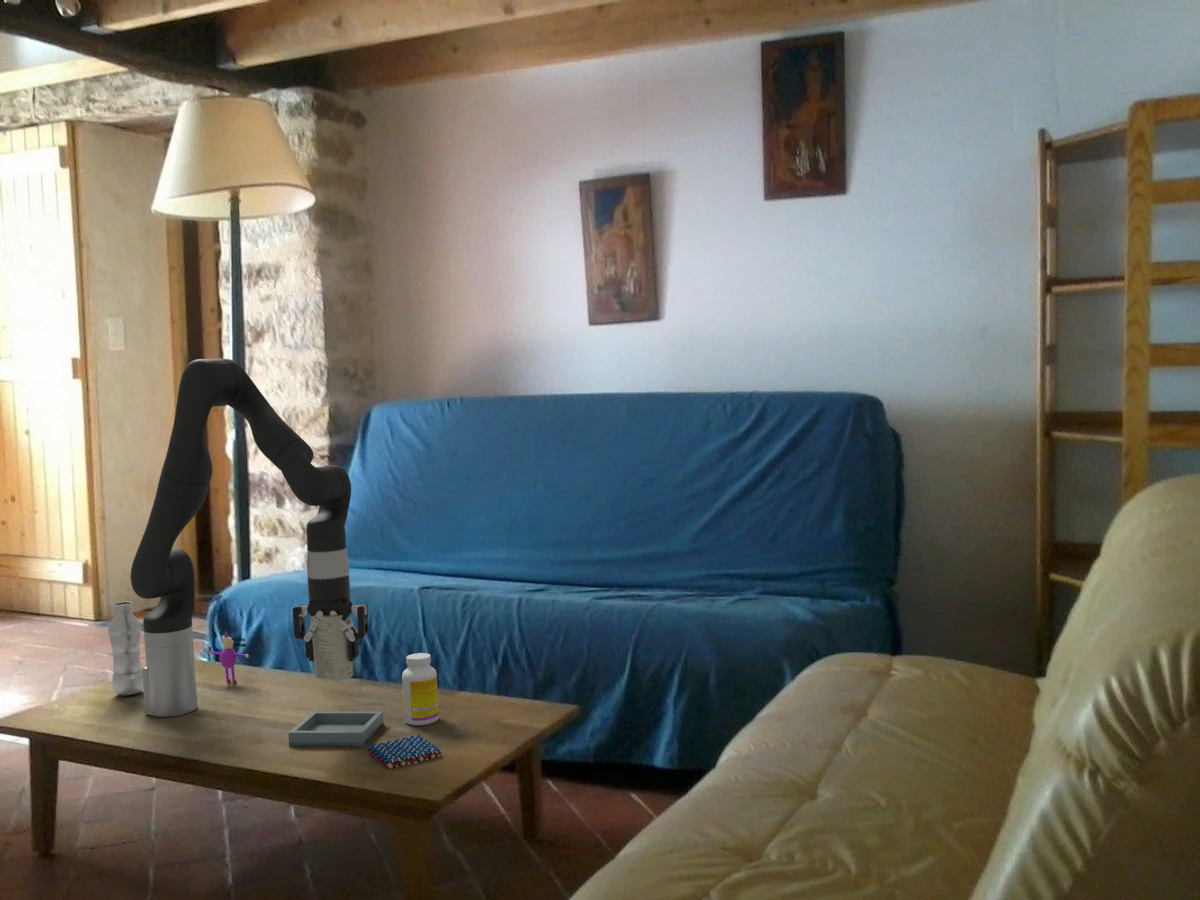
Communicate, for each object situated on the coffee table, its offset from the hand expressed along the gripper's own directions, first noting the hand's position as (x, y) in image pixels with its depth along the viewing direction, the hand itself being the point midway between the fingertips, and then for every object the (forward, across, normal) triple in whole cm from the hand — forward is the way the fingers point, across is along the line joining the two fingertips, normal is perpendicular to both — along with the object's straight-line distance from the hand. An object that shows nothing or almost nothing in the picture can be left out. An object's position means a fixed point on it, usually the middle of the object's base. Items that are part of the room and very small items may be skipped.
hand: (333, 660), depth 201 cm
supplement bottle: (+15, +14, +8) cm, 22 cm away
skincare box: (+3, 0, 0) cm, 3 cm away
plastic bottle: (+14, -56, +25) cm, 63 cm away
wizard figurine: (+14, -37, +33) cm, 52 cm away
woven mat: (+15, +16, -10) cm, 24 cm away
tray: (+14, 0, 0) cm, 14 cm away
